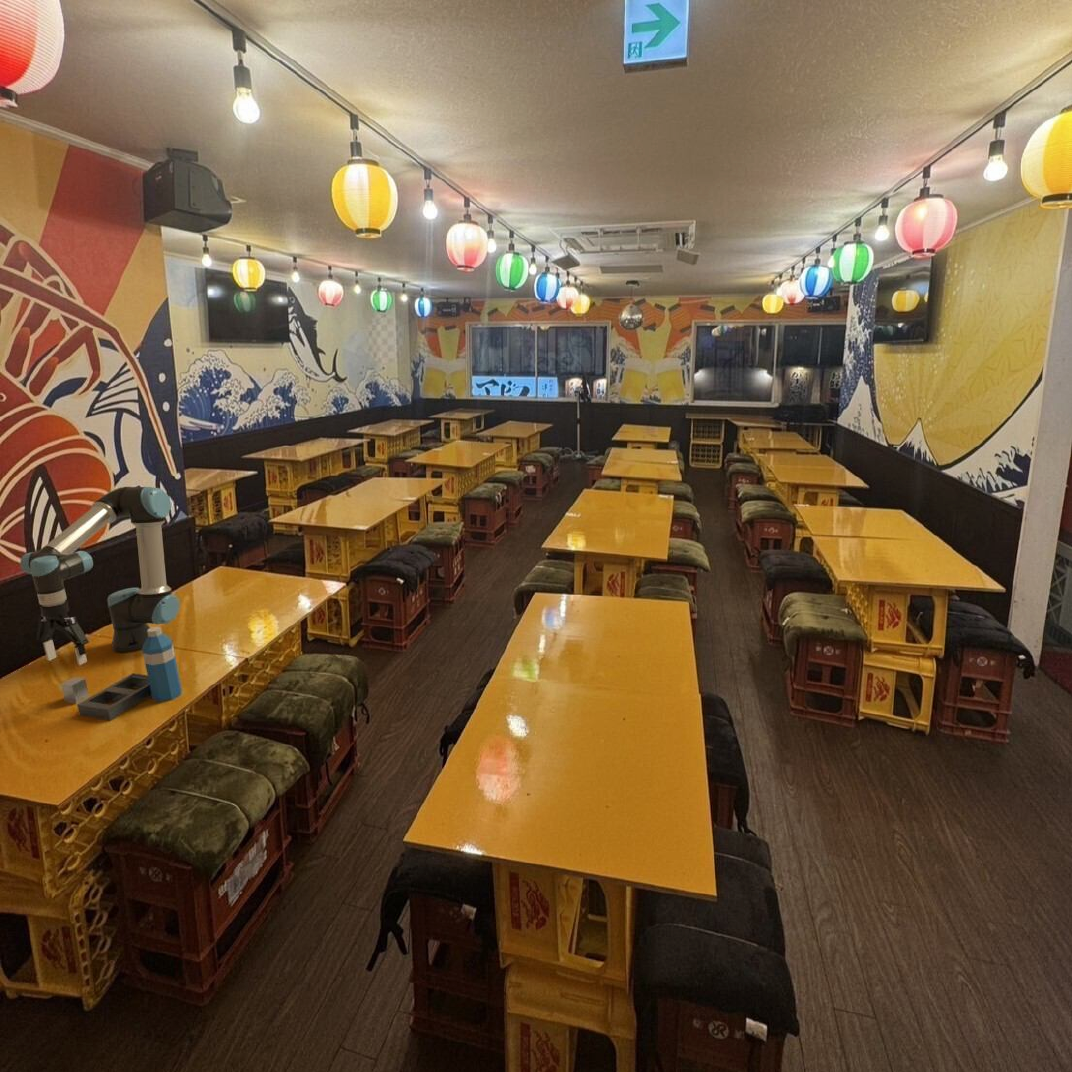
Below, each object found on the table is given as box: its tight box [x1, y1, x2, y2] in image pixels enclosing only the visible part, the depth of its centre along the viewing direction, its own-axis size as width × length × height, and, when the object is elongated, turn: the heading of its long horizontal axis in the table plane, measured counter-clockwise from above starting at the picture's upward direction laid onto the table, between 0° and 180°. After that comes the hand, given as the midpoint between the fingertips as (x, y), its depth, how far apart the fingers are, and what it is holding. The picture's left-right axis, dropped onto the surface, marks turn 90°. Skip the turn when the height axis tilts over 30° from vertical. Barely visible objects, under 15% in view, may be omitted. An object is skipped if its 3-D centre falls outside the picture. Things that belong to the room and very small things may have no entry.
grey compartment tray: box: [76, 672, 152, 721], centre depth 231 cm, size 22×13×4 cm, turn 163°
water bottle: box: [141, 626, 183, 703], centre depth 231 cm, size 9×9×25 cm
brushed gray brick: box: [60, 676, 90, 705], centre depth 233 cm, size 5×5×7 cm
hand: (67, 661), depth 230 cm, fingers open, 13 cm apart
